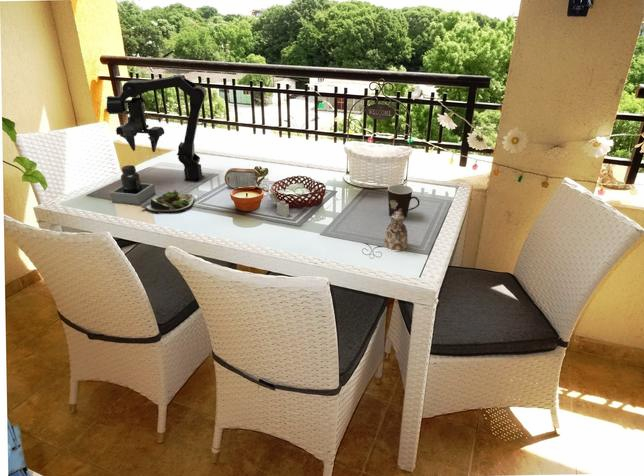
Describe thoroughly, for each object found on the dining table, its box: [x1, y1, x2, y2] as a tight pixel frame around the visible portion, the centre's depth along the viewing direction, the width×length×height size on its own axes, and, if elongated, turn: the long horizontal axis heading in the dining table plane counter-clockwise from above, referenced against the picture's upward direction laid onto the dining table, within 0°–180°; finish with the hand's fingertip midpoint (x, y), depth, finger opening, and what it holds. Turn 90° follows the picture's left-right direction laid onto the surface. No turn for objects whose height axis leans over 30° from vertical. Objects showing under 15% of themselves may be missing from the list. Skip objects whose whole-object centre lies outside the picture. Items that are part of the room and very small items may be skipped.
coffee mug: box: [387, 184, 421, 219], centre depth 159 cm, size 12×9×10 cm
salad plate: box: [141, 189, 196, 215], centre depth 172 cm, size 19×18×5 cm
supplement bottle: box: [120, 164, 142, 194], centre depth 175 cm, size 7×7×12 cm
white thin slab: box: [268, 191, 290, 217], centre depth 162 cm, size 7×2×8 cm, turn 63°
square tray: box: [109, 182, 156, 206], centre depth 177 cm, size 12×12×4 cm
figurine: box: [383, 209, 409, 251], centre depth 140 cm, size 7×7×12 cm
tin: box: [224, 167, 263, 190], centre depth 184 cm, size 15×3×8 cm, turn 84°
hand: (144, 151), depth 188 cm, fingers open, 9 cm apart
